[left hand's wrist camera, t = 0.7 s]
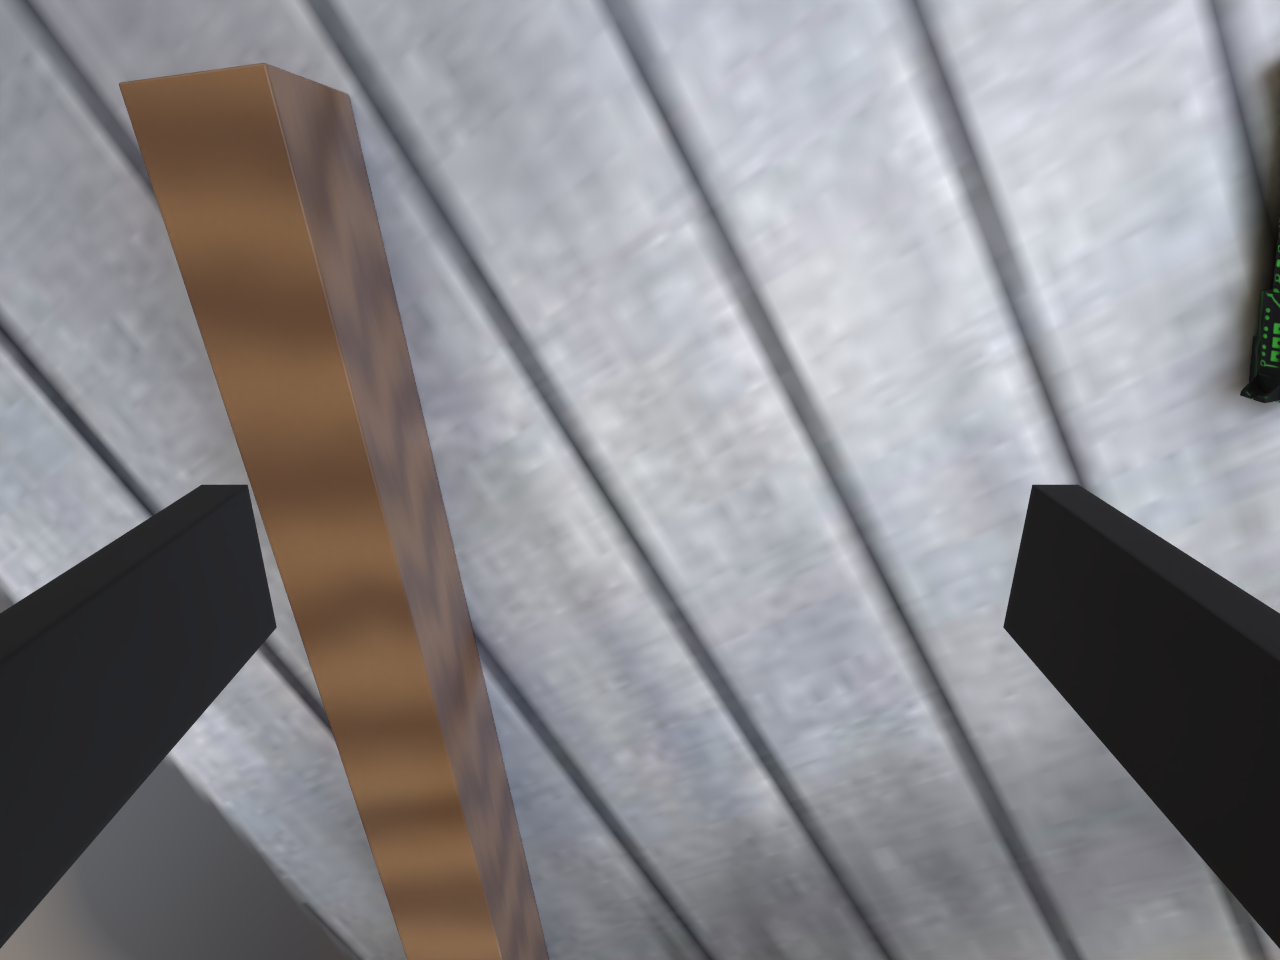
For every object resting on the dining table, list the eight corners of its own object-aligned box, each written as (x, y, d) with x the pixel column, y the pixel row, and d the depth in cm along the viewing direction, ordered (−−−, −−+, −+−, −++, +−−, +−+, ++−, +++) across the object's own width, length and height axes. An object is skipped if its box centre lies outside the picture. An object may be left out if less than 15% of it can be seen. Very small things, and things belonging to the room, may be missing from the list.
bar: (233, 109, 31) (116, 82, 24) (349, 93, 31) (264, 61, 24) (476, 968, 49) (450, 1091, 42) (549, 962, 49) (535, 1085, 42)
